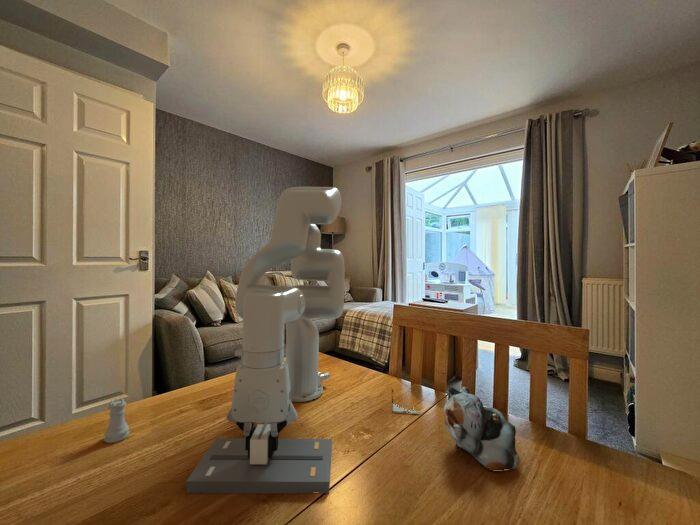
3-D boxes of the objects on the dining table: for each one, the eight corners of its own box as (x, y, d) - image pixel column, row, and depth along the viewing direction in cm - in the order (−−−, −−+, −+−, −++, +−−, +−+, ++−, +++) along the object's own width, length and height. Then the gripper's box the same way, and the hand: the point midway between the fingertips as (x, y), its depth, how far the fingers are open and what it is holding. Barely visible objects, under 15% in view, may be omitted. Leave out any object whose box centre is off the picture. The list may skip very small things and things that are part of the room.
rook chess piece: (115, 445, 63) (115, 407, 63) (98, 442, 64) (98, 404, 63) (134, 433, 67) (135, 397, 67) (118, 430, 68) (118, 395, 68)
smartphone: (416, 389, 92) (420, 414, 77) (415, 391, 92) (420, 416, 77) (391, 387, 93) (391, 411, 78) (391, 389, 93) (391, 413, 78)
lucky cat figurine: (519, 485, 54) (483, 417, 54) (456, 481, 61) (424, 421, 61) (522, 423, 66) (493, 368, 66) (469, 426, 73) (443, 376, 73)
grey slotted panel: (186, 492, 51) (186, 480, 51) (216, 447, 63) (216, 437, 63) (329, 493, 51) (329, 481, 51) (331, 448, 63) (331, 438, 63)
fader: (249, 464, 54) (250, 438, 54) (257, 446, 59) (258, 423, 59) (266, 464, 54) (267, 438, 54) (273, 446, 59) (273, 423, 59)
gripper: (210, 363, 53) (209, 466, 53) (304, 364, 53) (302, 467, 53) (227, 349, 60) (226, 440, 60) (309, 351, 60) (307, 441, 61)
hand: (262, 452), depth 57 cm, fingers closed on fader, 3 cm apart
